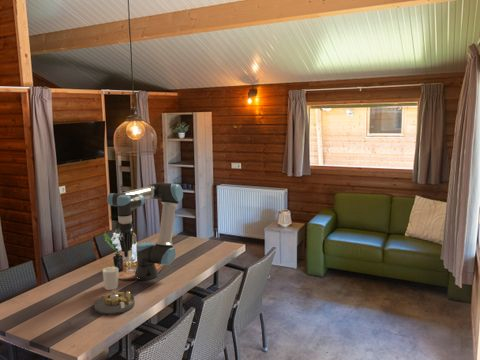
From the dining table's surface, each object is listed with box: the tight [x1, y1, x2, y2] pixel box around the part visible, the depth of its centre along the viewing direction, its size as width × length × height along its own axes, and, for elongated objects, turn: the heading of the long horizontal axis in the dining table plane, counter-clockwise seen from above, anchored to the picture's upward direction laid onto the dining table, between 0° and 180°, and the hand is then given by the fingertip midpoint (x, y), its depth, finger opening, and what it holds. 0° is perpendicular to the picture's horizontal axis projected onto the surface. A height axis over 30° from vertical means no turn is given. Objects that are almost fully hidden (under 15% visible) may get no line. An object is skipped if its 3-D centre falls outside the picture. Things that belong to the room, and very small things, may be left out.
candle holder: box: [101, 266, 119, 291], centre depth 260 cm, size 10×10×12 cm
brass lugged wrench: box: [103, 289, 131, 306], centre depth 234 cm, size 17×11×7 cm, turn 67°
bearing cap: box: [93, 292, 135, 316], centre depth 235 cm, size 22×22×7 cm
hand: (127, 261), depth 237 cm, fingers closed
